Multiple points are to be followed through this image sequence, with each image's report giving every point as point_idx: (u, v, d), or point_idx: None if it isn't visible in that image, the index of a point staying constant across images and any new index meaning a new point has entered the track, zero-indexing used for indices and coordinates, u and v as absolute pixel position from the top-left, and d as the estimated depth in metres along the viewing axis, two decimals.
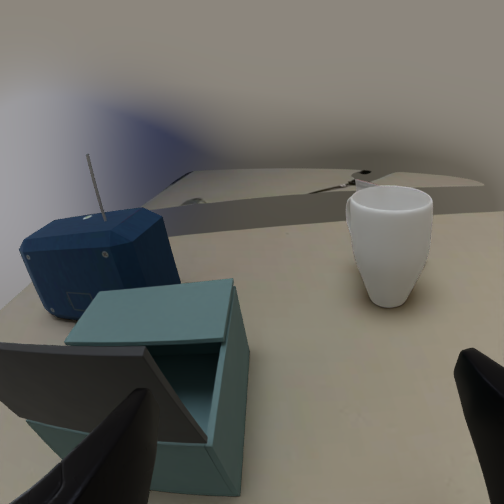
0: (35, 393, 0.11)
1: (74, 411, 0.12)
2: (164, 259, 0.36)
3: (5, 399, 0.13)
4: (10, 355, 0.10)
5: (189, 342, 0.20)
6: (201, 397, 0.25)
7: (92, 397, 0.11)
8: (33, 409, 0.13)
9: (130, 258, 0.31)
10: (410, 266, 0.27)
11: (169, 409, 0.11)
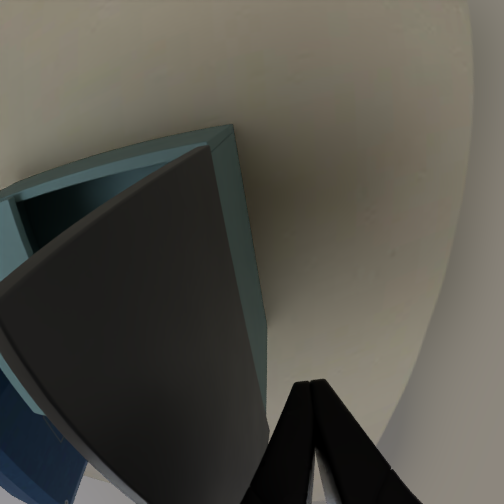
0: (236, 449, 0.08)
1: (231, 382, 0.08)
2: None
3: None
4: None
5: (31, 253, 0.10)
6: None
7: (195, 373, 0.06)
8: (255, 428, 0.11)
9: None
10: None
11: (160, 205, 0.05)
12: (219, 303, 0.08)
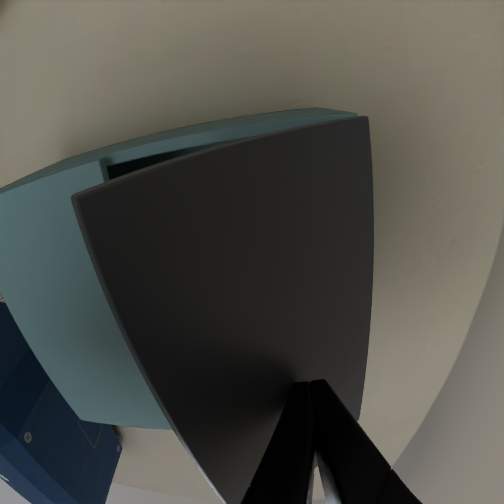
0: None
1: (323, 349, 0.09)
2: None
3: None
4: (214, 462, 0.07)
5: None
6: None
7: (275, 320, 0.07)
8: None
9: (8, 398, 0.13)
10: None
11: (278, 159, 0.06)
12: (337, 269, 0.08)
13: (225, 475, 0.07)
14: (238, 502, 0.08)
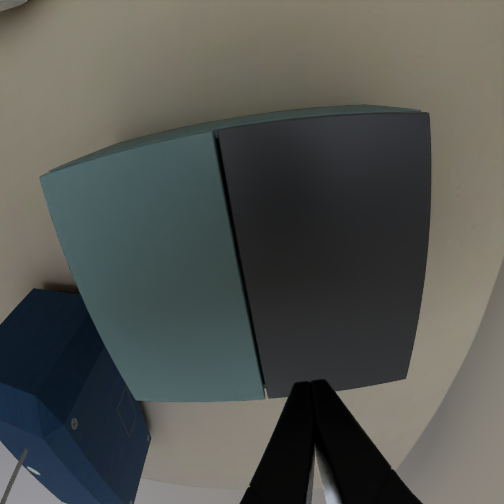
0: (333, 311, 0.13)
1: (363, 271, 0.12)
2: (15, 331, 0.17)
3: (365, 374, 0.14)
4: (258, 300, 0.13)
5: (225, 195, 0.11)
6: None
7: (318, 223, 0.11)
8: (378, 340, 0.13)
9: (56, 383, 0.15)
10: None
11: (328, 129, 0.10)
12: (381, 215, 0.11)
13: (262, 318, 0.13)
14: (267, 356, 0.14)
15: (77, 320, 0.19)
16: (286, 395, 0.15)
